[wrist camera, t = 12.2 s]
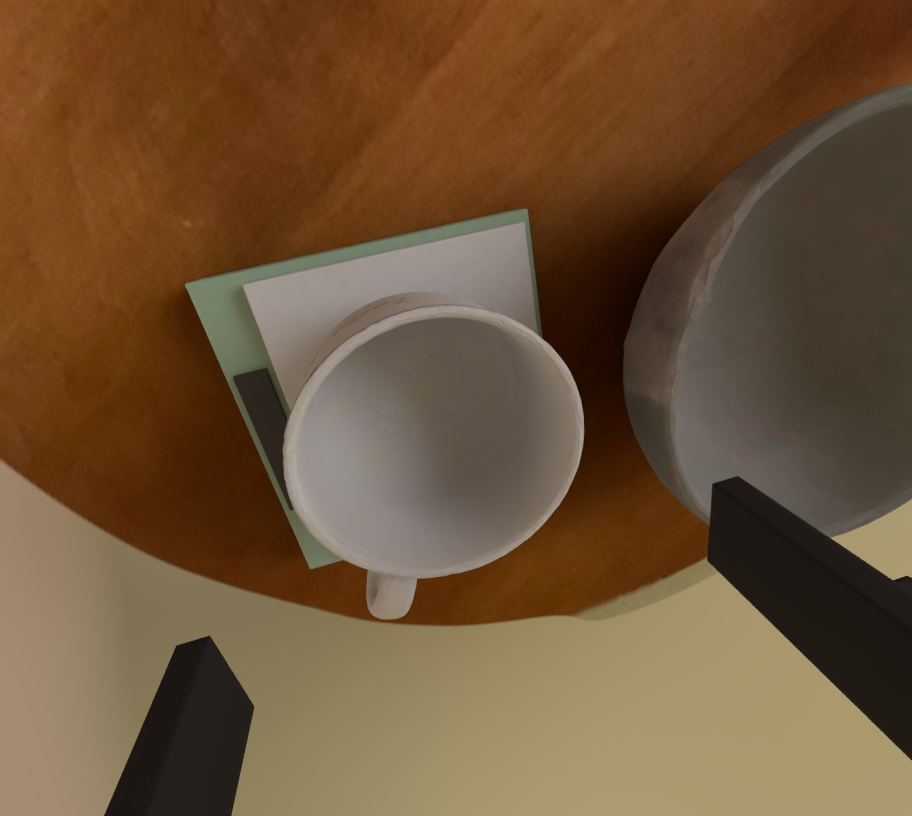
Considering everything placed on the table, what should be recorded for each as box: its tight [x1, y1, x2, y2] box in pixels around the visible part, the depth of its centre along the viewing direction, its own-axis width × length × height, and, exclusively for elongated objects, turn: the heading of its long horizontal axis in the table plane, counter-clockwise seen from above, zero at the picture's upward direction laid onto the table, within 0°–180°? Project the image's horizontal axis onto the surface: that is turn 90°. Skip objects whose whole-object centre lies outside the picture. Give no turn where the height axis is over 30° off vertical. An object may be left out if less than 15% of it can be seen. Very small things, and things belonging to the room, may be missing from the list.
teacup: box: [282, 292, 584, 619], centre depth 19 cm, size 14×11×8 cm
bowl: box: [623, 82, 912, 538], centre depth 23 cm, size 20×20×10 cm
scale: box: [185, 209, 543, 569], centre depth 24 cm, size 16×17×3 cm
